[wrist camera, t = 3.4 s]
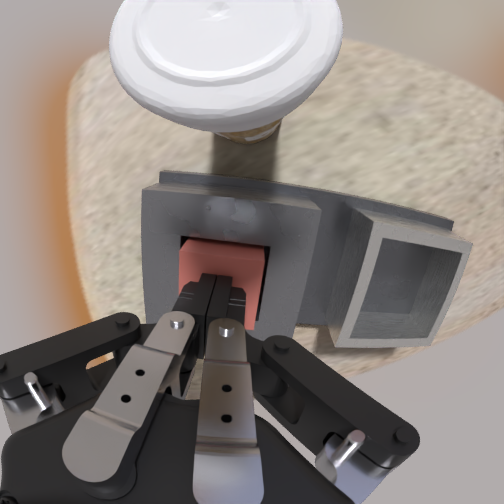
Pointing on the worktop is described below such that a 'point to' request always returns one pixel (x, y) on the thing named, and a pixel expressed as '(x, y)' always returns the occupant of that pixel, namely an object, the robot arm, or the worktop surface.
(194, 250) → the button
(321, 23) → the sprinkles bottle
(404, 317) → the grey push button box
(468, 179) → the worktop surface
